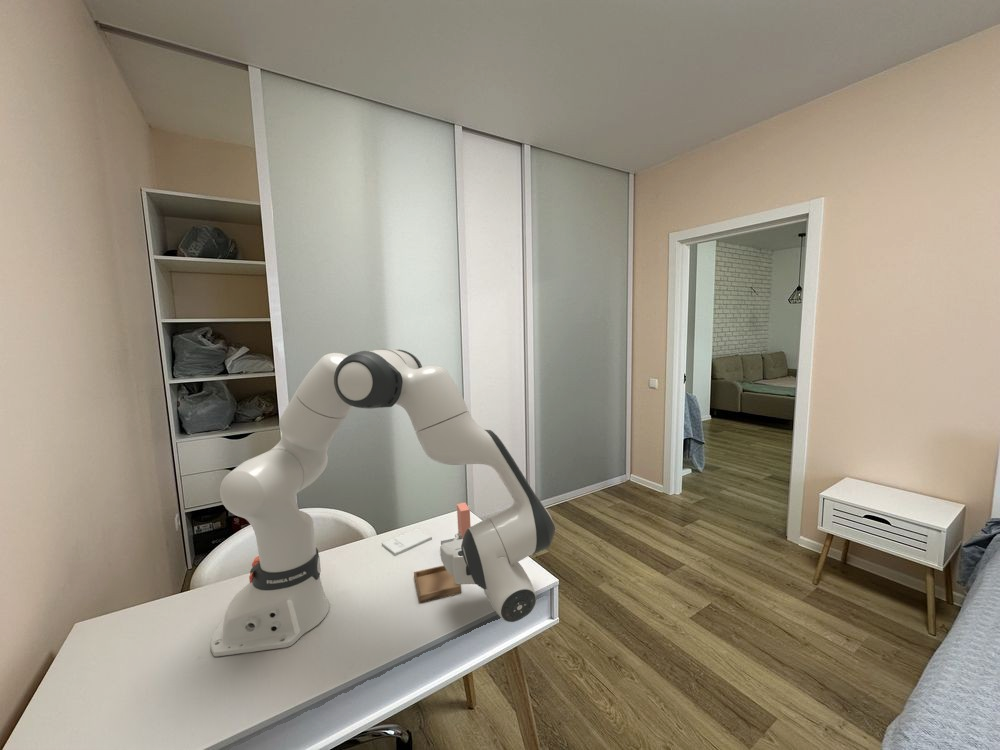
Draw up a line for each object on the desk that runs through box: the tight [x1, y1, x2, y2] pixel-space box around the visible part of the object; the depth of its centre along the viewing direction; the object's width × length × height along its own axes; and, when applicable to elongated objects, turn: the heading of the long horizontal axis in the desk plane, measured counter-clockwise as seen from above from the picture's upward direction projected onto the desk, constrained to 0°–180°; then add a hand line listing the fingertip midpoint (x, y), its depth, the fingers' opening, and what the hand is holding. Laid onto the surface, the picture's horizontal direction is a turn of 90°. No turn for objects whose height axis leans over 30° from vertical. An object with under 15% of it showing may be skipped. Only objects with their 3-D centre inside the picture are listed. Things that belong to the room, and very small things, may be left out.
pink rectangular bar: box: [456, 502, 472, 539], centre depth 112 cm, size 2×5×14 cm, turn 19°
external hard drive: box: [381, 527, 433, 557], centre depth 120 cm, size 2×8×12 cm
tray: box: [413, 565, 462, 604], centre depth 99 cm, size 10×10×2 cm
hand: (476, 532), depth 100 cm, fingers open, 8 cm apart
